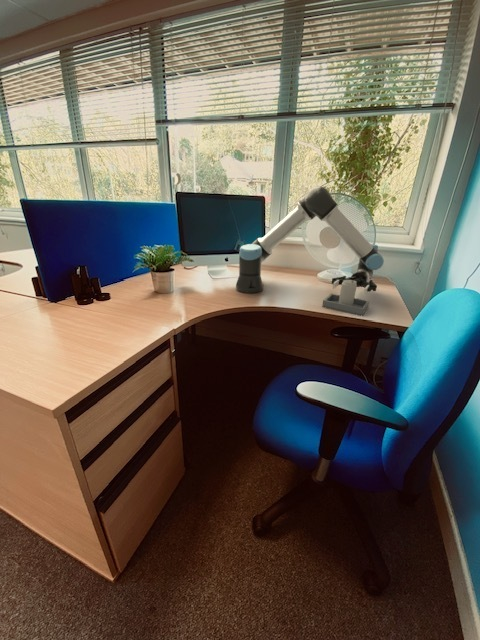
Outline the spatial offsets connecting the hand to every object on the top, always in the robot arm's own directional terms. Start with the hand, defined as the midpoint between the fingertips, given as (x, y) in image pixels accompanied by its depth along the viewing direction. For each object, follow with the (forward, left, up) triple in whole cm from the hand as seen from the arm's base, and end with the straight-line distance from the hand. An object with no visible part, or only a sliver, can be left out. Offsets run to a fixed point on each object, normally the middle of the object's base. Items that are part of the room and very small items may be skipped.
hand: (348, 288), depth 119 cm
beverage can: (0, +1, -9) cm, 9 cm away
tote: (0, +1, -9) cm, 10 cm away
